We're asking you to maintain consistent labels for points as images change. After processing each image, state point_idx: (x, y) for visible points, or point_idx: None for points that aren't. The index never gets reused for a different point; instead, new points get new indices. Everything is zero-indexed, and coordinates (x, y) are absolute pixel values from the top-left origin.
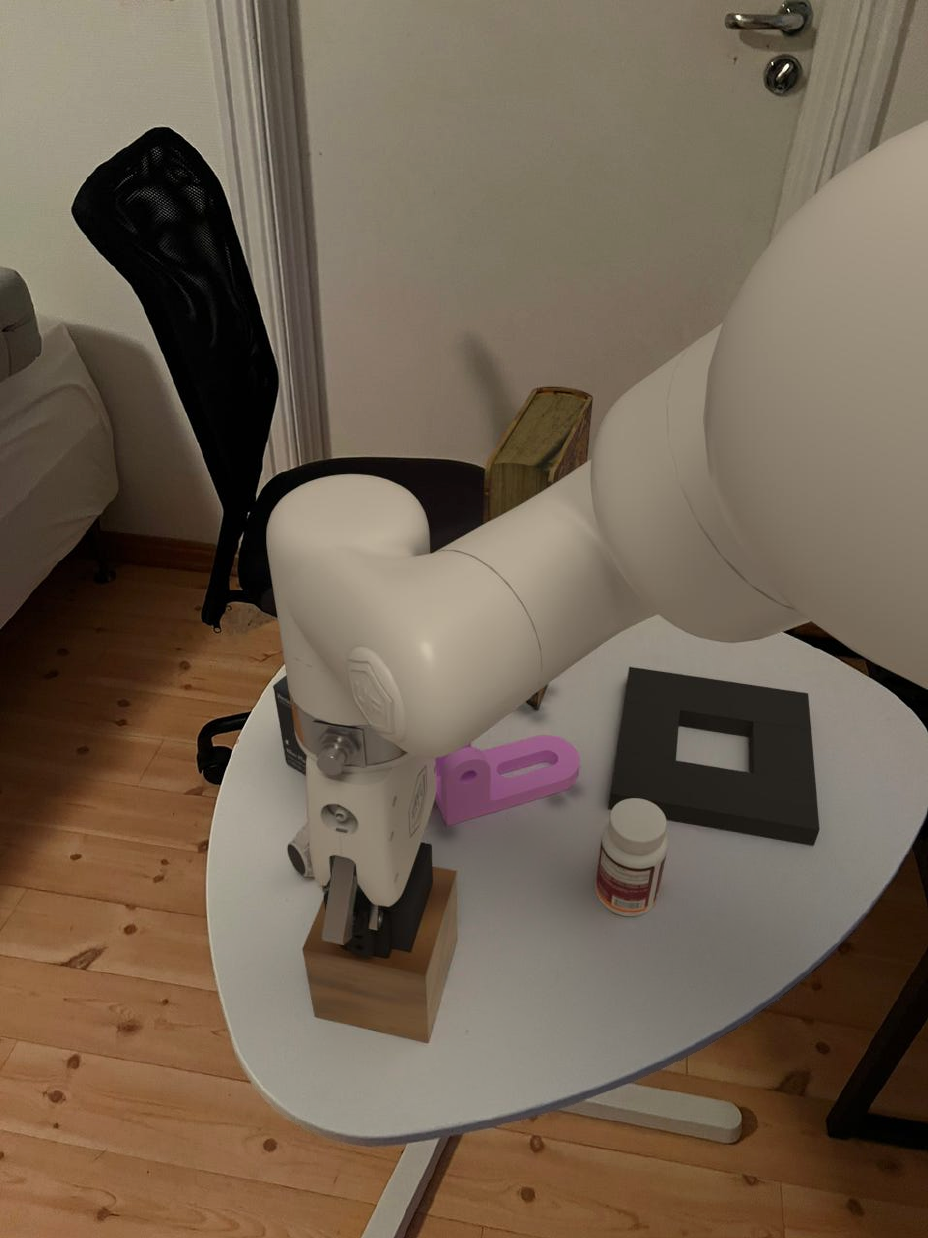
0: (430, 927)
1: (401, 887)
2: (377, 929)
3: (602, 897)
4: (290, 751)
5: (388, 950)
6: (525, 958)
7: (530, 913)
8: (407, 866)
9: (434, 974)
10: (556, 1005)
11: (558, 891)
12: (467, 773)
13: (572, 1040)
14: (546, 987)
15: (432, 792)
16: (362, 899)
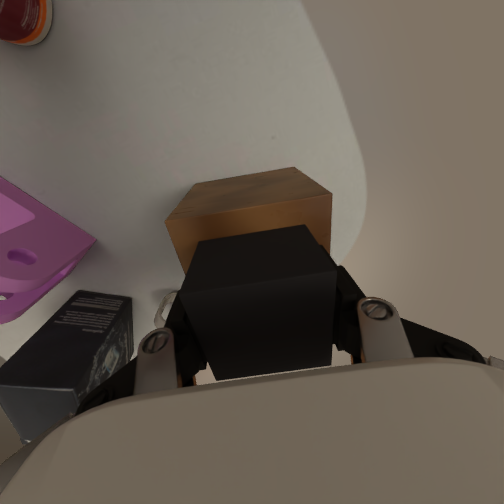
0: (262, 217)
1: (493, 399)
2: (389, 303)
3: (41, 19)
4: (126, 363)
5: (326, 251)
6: (178, 107)
7: (126, 122)
8: (437, 435)
9: (282, 185)
10: (211, 45)
11: (79, 98)
12: (21, 257)
13: (243, 4)
14: (197, 67)
15: (80, 485)
16: (324, 333)
